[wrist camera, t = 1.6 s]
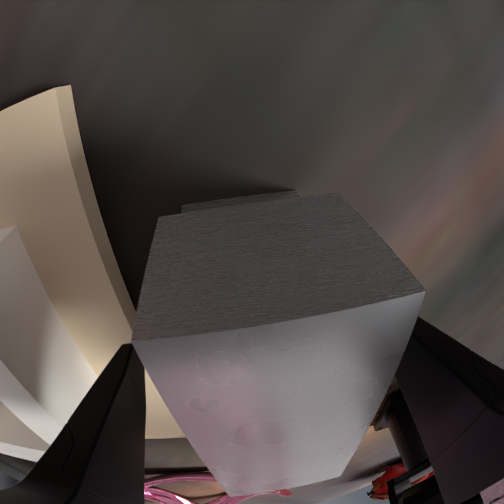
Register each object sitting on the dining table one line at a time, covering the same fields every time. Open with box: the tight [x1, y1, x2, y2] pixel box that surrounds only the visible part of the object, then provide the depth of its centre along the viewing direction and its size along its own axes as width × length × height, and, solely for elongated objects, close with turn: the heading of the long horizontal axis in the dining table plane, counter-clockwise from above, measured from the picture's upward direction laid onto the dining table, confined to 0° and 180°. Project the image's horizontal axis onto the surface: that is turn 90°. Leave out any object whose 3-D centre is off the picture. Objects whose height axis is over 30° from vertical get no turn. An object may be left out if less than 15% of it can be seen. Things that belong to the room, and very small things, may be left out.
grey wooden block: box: [131, 190, 426, 497], centre depth 9 cm, size 9×4×8 cm, turn 5°
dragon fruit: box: [367, 462, 434, 500], centre depth 34 cm, size 8×8×12 cm
